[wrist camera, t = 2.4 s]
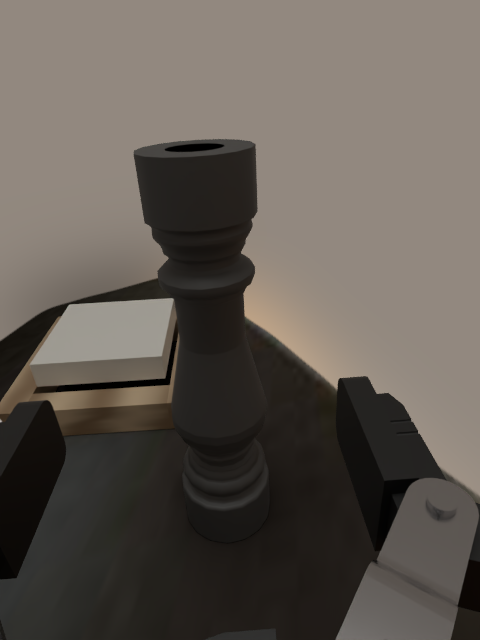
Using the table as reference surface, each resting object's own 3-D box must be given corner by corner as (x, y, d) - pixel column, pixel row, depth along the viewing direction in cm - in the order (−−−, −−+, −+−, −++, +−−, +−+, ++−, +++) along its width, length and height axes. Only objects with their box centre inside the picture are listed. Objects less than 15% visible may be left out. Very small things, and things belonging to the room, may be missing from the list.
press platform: (36, 386, 41) (29, 364, 39) (74, 323, 51) (69, 304, 50) (165, 378, 41) (161, 356, 39) (176, 317, 51) (173, 298, 50)
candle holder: (284, 522, 31) (284, 147, 19) (202, 557, 29) (142, 164, 17) (249, 461, 36) (231, 135, 24) (177, 487, 34) (117, 146, 22)
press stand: (2, 439, 40) (-9, 414, 38) (64, 337, 55) (58, 316, 54) (199, 426, 40) (196, 401, 38) (205, 328, 56) (203, 307, 54)
